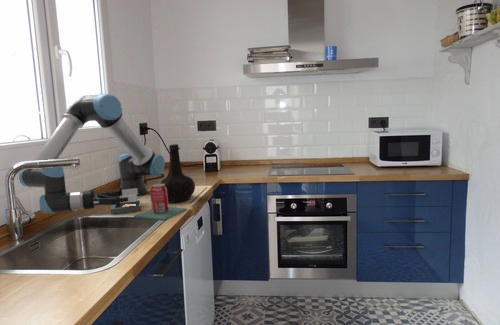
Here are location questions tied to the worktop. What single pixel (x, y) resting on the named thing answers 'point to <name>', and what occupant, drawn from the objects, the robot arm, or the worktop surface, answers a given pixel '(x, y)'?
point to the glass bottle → (177, 179)
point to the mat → (160, 214)
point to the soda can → (159, 198)
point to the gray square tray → (120, 209)
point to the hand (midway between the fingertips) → (137, 194)
